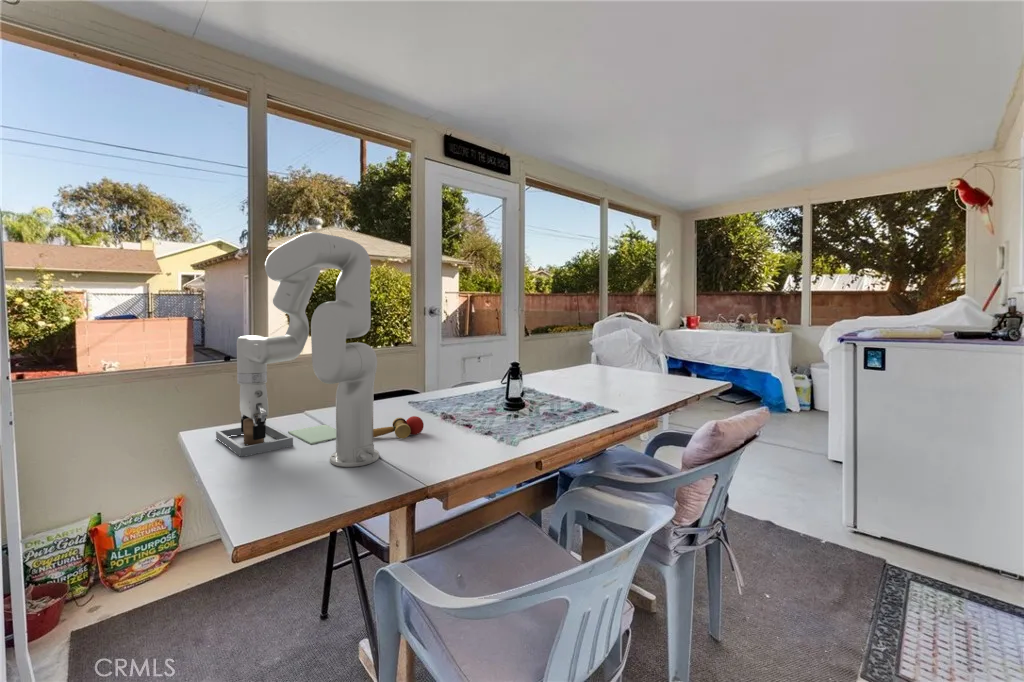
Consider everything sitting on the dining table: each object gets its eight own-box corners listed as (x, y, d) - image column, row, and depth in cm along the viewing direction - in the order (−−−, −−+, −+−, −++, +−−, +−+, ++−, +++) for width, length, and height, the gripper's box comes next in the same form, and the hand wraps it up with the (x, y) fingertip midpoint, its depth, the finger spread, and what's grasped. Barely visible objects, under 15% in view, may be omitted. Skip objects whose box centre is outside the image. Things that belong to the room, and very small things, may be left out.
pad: (348, 436, 141) (348, 434, 141) (310, 444, 132) (310, 442, 132) (325, 425, 152) (325, 424, 151) (288, 433, 143) (288, 431, 143)
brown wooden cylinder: (266, 442, 133) (266, 419, 132) (247, 446, 129) (246, 422, 128) (260, 438, 136) (259, 416, 135) (241, 442, 132) (240, 419, 132)
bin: (293, 446, 130) (292, 437, 130) (240, 457, 120) (240, 448, 120) (264, 430, 145) (264, 422, 144) (216, 439, 134) (216, 431, 134)
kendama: (369, 447, 135) (427, 433, 142) (365, 427, 135) (424, 414, 142) (366, 444, 142) (422, 431, 149) (363, 425, 142) (419, 412, 149)
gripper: (277, 380, 128) (278, 439, 129) (255, 372, 139) (256, 426, 141) (248, 383, 122) (249, 444, 124) (228, 375, 134) (229, 431, 135)
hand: (253, 435), depth 132 cm, fingers open, 9 cm apart
